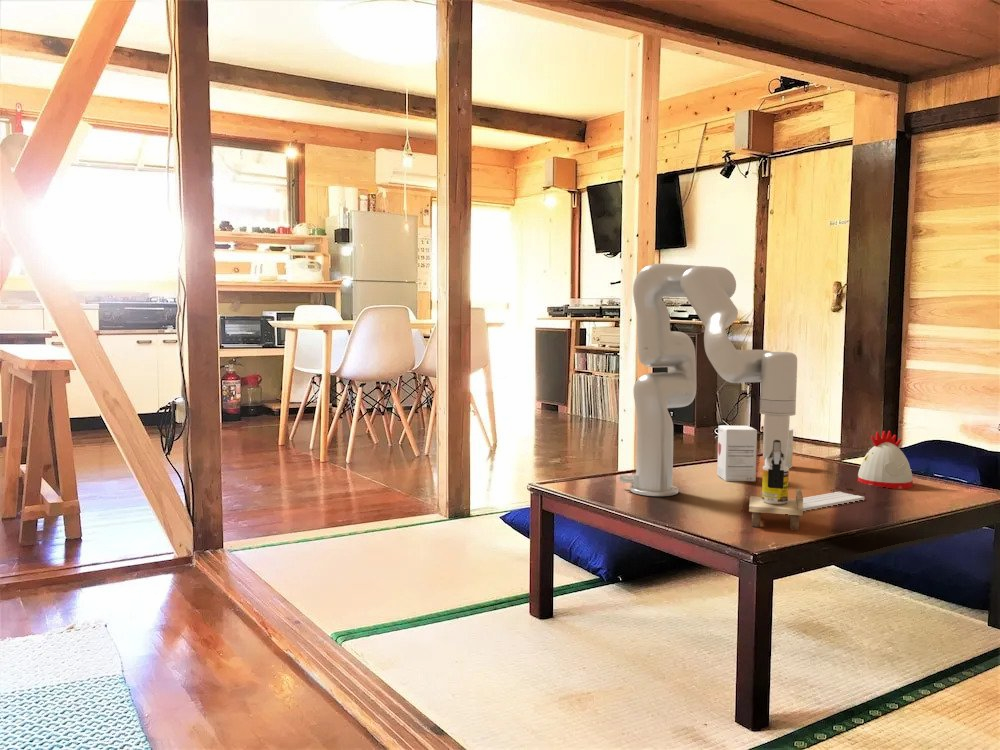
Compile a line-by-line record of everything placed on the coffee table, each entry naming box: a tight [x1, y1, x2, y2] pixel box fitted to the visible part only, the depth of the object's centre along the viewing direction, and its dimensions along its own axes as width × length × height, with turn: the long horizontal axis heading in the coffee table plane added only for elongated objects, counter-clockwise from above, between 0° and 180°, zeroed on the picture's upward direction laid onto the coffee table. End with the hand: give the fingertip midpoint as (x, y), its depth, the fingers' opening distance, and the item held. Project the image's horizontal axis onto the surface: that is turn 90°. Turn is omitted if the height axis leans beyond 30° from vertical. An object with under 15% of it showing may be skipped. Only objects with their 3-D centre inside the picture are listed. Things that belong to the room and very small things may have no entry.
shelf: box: [748, 488, 804, 531], centre depth 179 cm, size 11×11×7 cm
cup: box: [764, 427, 794, 469], centre depth 251 cm, size 8×8×12 cm
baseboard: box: [803, 487, 866, 512], centre depth 200 cm, size 30×3×10 cm
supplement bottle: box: [761, 456, 790, 505], centre depth 179 cm, size 6×6×10 cm
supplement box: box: [716, 424, 758, 482], centre depth 232 cm, size 9×9×15 cm
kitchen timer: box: [857, 430, 914, 490], centre depth 225 cm, size 14×14×15 cm
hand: (775, 483), depth 179 cm, fingers open, 9 cm apart
